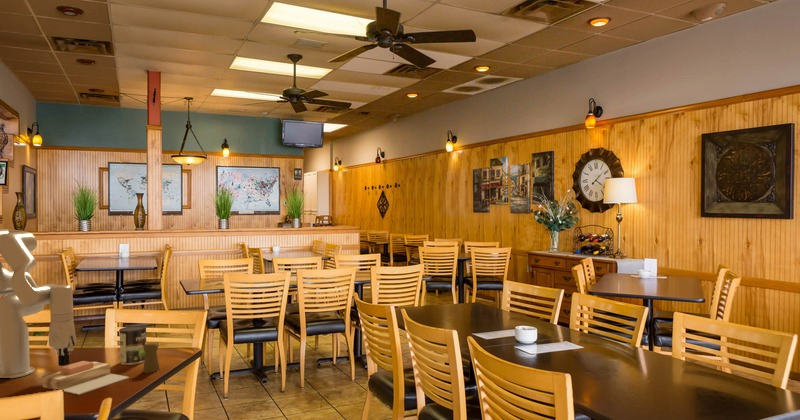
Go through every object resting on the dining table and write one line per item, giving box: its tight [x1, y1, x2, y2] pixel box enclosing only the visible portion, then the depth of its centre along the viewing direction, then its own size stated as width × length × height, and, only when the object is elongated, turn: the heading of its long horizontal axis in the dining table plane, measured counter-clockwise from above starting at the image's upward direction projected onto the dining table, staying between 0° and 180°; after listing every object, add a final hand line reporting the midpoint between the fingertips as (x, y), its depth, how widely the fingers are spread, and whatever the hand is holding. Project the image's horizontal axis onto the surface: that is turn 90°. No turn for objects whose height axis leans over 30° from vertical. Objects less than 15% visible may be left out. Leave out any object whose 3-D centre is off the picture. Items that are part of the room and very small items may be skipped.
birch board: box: [41, 360, 111, 391], centre depth 211 cm, size 10×20×4 cm, turn 154°
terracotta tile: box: [59, 360, 93, 374], centre depth 211 cm, size 6×9×2 cm, turn 153°
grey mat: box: [63, 373, 130, 396], centre depth 206 cm, size 11×20×1 cm, turn 154°
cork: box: [142, 342, 160, 374], centre depth 221 cm, size 6×6×11 cm
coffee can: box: [118, 325, 147, 366], centre depth 235 cm, size 10×10×14 cm
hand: (63, 364), depth 214 cm, fingers closed
